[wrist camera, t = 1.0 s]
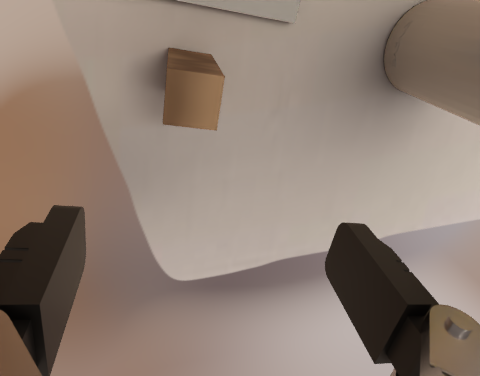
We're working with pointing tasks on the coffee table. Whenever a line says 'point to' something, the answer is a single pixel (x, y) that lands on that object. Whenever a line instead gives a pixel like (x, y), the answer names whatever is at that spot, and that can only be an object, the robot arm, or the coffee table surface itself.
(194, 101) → the walnut peg
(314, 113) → the coffee table surface
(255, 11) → the socket block
